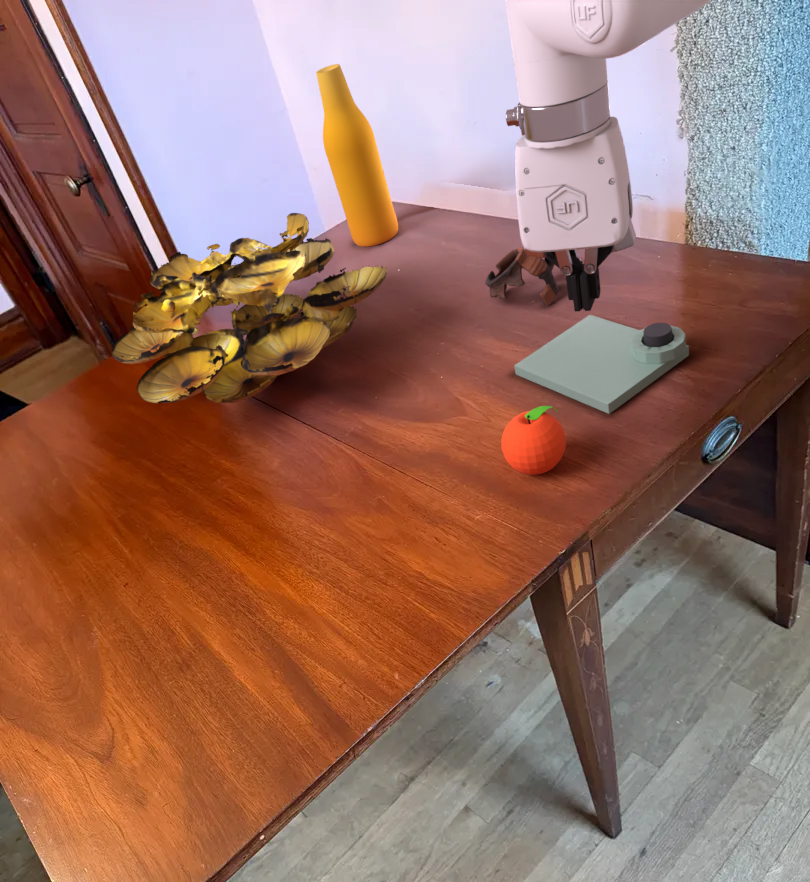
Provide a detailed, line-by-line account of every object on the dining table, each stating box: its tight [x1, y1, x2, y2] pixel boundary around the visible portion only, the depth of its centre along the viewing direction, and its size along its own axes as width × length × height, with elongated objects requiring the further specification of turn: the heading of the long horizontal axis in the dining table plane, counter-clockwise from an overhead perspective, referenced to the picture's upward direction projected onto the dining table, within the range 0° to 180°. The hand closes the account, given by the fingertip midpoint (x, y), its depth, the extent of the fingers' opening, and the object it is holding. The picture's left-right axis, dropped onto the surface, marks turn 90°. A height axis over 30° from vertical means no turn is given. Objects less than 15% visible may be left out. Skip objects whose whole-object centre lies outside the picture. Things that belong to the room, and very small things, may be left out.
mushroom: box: [110, 212, 388, 404], centre depth 111 cm, size 41×45×17 cm
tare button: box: [643, 322, 672, 347], centre depth 89 cm, size 3×3×2 cm
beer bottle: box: [315, 63, 399, 248], centre depth 135 cm, size 9×9×29 cm
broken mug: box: [484, 246, 560, 307], centre depth 111 cm, size 12×10×8 cm
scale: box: [513, 314, 690, 415], centre depth 93 cm, size 16×15×3 cm
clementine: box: [500, 405, 567, 476], centre depth 81 cm, size 8×7×7 cm
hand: (585, 304), depth 78 cm, fingers closed
